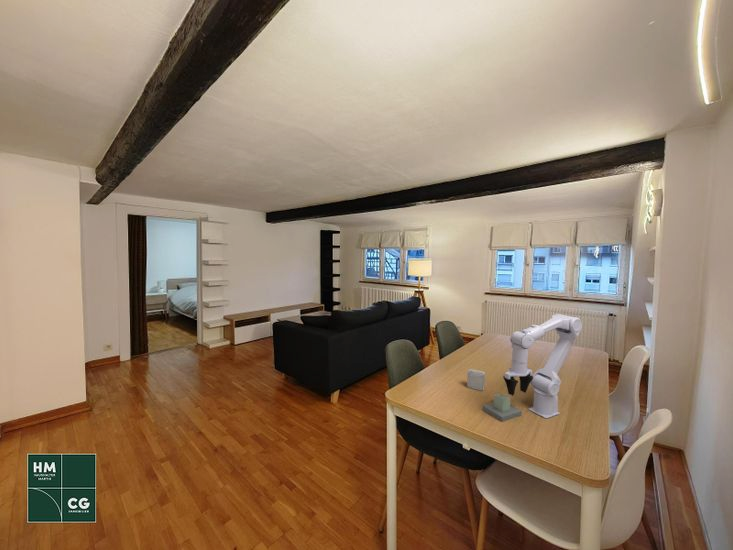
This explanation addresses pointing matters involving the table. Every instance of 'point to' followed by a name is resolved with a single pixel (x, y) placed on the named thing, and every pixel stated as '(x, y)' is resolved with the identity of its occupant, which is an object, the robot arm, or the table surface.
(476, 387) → the medicine box
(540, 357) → the table surface
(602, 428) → the table surface
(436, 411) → the table surface
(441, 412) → the table surface
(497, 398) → the sage cube
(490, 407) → the slate plinth
